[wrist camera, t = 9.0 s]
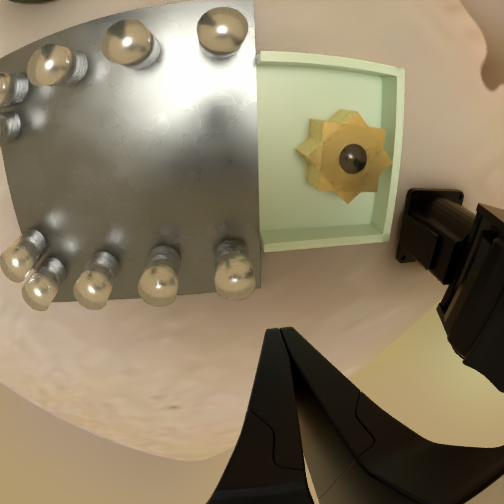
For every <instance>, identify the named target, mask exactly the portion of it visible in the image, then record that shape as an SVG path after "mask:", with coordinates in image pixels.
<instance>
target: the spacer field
mask: <svg viewBox="0 0 504 504" xmlns="http://www.w3.org/2000/svg"><path fill="white" fill-rule="evenodd" d="M0 147H2V154H3V160H4V165H5V171H6V176H7V180H8V185H9V189H10V194H11V198H12V202H13V206H14V209H15V213H16V217H17V220H18V223H19V227H20V230H21V233H22V235H21V236H20V237H19V238H18V239H17V240H15V241H14V242H13V243H12V244H11V245H10V246H9V247H8V248H7V249H6V250H5V251H4V252H3V253H2V255H1V257H0V266H1V269H2V271H3V273H4V274H5V275H6V276H7V277H8V278H9V279H10V280H11V281H13V282H22V281H23V280H24V279H25V277H26V276H27V275H28V274H29V272H30V271H31V270H32V269H33V268H34V270H35V271H34V273H33V274H32V275H31V276H30V278H29V279H28V280H27V282H26V283H25V284H24V286H23V288H22V295H23V298H24V300H25V301H26V303H27V304H28V305H29V306H30V307H32V308H33V309H35V310H37V311H45V310H47V309H48V307H49V305H50V304H51V302H70V301H78V302H79V303H80V304H81V305H82V306H84V307H85V308H88V309H91V310H98V309H101V308H103V307H104V306H105V305H106V302H107V300H113V299H130V298H142V299H143V300H144V301H145V302H146V303H148V304H150V305H153V306H158V307H161V306H166V305H169V304H171V303H172V302H173V301H174V300H175V298H176V295H188V294H200V293H212V292H217V293H218V294H219V295H220V296H221V297H223V298H225V299H228V300H241V299H244V298H246V297H248V296H249V295H250V294H251V293H252V292H253V291H254V289H255V288H261V279H260V219H259V170H258V128H257V90H256V57H255V26H254V0H199V1H188V2H179V3H171V4H164V5H158V6H152V7H146V8H141V9H136V10H131V11H127V12H122V13H118V14H114V15H110V16H106V17H103V18H99V19H96V20H92V21H89V22H86V23H83V24H80V25H77V26H74V27H71V28H68V29H65V30H62V31H60V32H57V33H55V34H52V35H50V36H47V37H45V38H42V39H40V40H38V41H35V42H33V43H31V44H29V45H27V46H24V47H22V48H20V49H18V50H16V51H14V52H12V53H10V54H8V55H6V56H4V57H3V58H1V59H0Z"/></svg>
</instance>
